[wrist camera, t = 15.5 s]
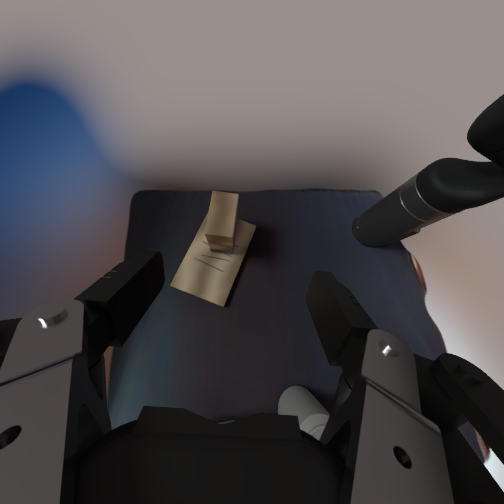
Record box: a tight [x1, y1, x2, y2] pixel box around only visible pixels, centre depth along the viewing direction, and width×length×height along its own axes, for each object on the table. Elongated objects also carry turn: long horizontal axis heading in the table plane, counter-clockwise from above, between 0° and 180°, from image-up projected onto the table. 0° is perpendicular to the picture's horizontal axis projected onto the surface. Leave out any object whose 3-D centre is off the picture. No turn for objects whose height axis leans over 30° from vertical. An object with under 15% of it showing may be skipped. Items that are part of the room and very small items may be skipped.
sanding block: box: [205, 191, 238, 254], centre depth 37 cm, size 5×9×10 cm, turn 174°
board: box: [170, 212, 256, 307], centre depth 41 cm, size 12×20×1 cm, turn 159°
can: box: [278, 386, 330, 440], centre depth 28 cm, size 8×8×12 cm
